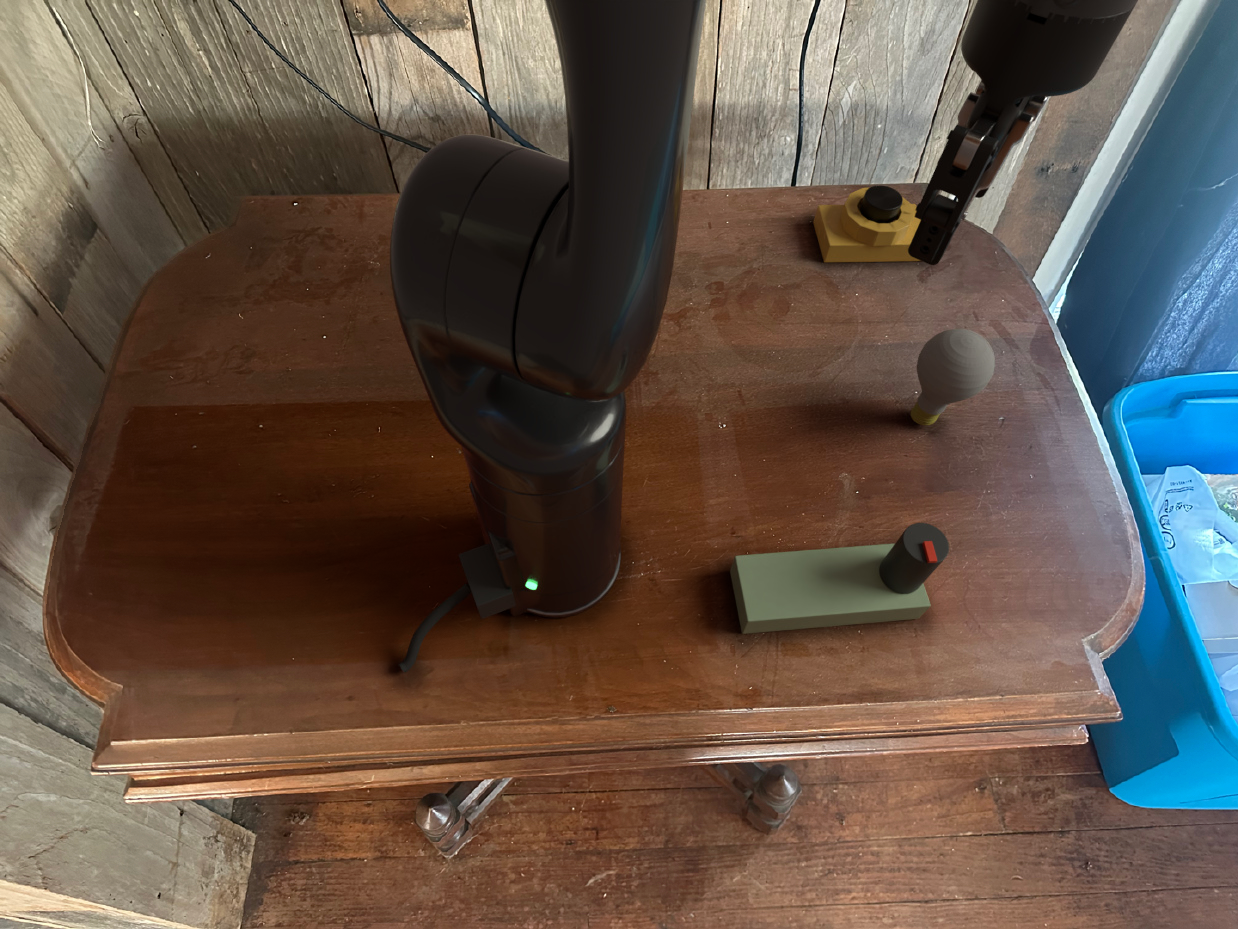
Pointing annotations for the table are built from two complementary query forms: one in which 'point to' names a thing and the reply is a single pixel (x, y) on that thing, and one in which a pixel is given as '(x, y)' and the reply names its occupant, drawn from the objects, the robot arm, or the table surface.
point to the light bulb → (951, 371)
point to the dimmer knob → (913, 558)
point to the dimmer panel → (818, 590)
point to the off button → (881, 204)
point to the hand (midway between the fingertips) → (946, 223)
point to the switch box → (864, 233)
